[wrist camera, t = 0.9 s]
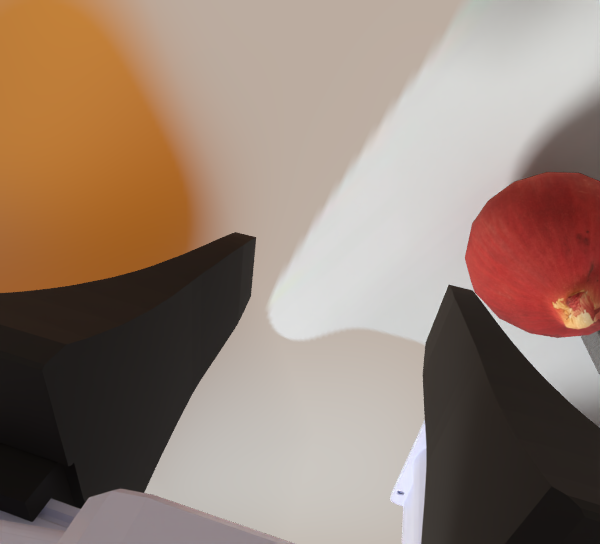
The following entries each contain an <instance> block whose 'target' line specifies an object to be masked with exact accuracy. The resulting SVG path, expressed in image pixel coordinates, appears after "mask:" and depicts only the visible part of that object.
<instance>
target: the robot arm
mask: <svg viewBox="0 0 600 544" xmlns="http://www.w3.org/2000/svg"><path fill="white" fill-rule="evenodd" d="M255 244H256V237H253V236H248V235H244V234H240V233H236V232H235V233H232V234H230V235H227V236H225V237H222V238H220V239H218V240H215V241H213V242H211V243H209V244H206V245H204V246H202V247H199V248H197V249H195V250H192V251H190V252H188V253H185V254H183V255H180V256H178V257H175V258H172V259H170V260H167V261H165V262H162V263H159V264H156V265H154V266H151V267H148V268H145V269H141V270H138V271H135V272H131V273H127V274H124V275H120V276H116V277H112V278H108V279H103V280H98V281H93V282H88V283H83V284H77V285H72V286H65V287H58V288H51V289H43V290H34V291H24V292H13V293H0V544H295V543H292V542H288V541H286V540H283V539H280V538H277V537H274V536H271V535H268V534H266V533H262V532H260V531H257V530H253V529H251V528H248V527H245V526H242V525H239V524H237V523H234V522H230V521H228V520H225V519H222V518H219V517H216V516H213V515H210V514H208V513H204V512H202V511H199V510H196V509H193V508H190V507H187V506H184V505H181V504H178V503H176V502H173V501H170V500H167V499H164V498H161V497H158V496H155V495H152V494H147V493H144V491H145V490H146V487H147V485H148V483H149V481H150V478H151V477H152V474H153V472H154V470H155V468H156V466H157V464H158V462H159V459H160V457H161V455H162V453H163V451H164V449H165V447H166V445H167V443H168V441H169V439H170V437H171V435H172V433H173V431H174V429H175V426H176V425H177V422H178V421H179V419H180V417H181V415H182V413H183V411H184V409H185V407H186V405H187V403H188V401H189V399H190V397H191V395H192V394H193V392H194V390H195V389H196V387H197V385H198V384H199V382H200V380H201V379H202V377H203V376H204V374H205V373H206V371H207V370H208V368H209V366H210V365H211V364H212V362H213V361H214V359H215V358H216V356H217V355H218V353H219V352H220V350H221V348H222V347H223V346H224V344H225V342H226V341H227V340H228V338H229V336H230V335H231V333H232V332H233V330H234V329H235V327H236V326H237V324H238V322H239V320H240V318H241V316H242V314H243V312H244V310H245V308H246V305H247V303H248V301H249V299H250V297H251V288H252V276H253V266H254V255H255ZM423 368H424V369H423V389H424V411H425V420H424V422H423V424H422V426H421V428H420V431H419V433H418V435H417V437H416V439H415V442H414V444H413V446H412V448H411V451H410V453H409V455H408V457H407V459H406V462H405V464H404V466H403V468H402V470H401V472H400V475H399V477H398V479H397V482H396V483H395V486H394V488H393V490H392V492H391V497H390V499H391V501H392V502H393V503H395V504H397V505H401V506H403V526H402V544H600V428H599V427H598V426H597V425H595V424H594V423H593V422H592V421H590V420H589V419H588V418H587V417H586V416H584V415H583V414H582V413H581V412H580V411H579V410H577V409H576V408H575V407H574V406H573V405H572V404H571V403H570V402H568V401H567V400H566V399H565V398H564V397H563V396H562V395H561V394H560V393H559V392H558V391H557V390H556V389H555V388H554V387H553V386H552V385H551V384H550V383H549V382H548V381H547V380H546V379H545V378H544V377H543V376H542V375H541V374H540V373H539V372H538V371H537V370H536V369H535V368H534V367H533V365H532V364H531V363H530V362H529V361H528V360H527V359H526V358H525V357H524V355H523V354H522V353H521V352H520V351H519V350H518V348H517V347H516V346H515V345H514V344H513V342H512V341H511V340H510V339H509V337H508V336H507V335H506V334H505V332H504V331H503V330H502V329H501V327H500V326H499V325H498V323H497V322H496V321H495V319H494V318H493V317H492V315H491V314H490V313H489V311H488V310H487V309H486V307H485V306H484V305H483V303H482V302H481V301H480V299H479V298H478V297H477V295H476V294H475V293H474V292H473V291H472V290H468V289H464V288H460V287H456V286H452V285H449V286H448V288H447V291H446V293H445V296H444V298H443V301H442V303H441V306H440V308H439V311H438V313H437V316H436V318H435V321H434V323H433V326H432V328H431V331H430V333H429V336H428V338H427V341H426V346H425V356H424V367H423Z"/></svg>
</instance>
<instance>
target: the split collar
mask: <svg viewBox="0 0 600 544" xmlns="http://www.w3.org/2000/svg"><path fill="white" fill-rule="evenodd" d="M581 338H582V340H583V342H584V344H585V346H586V348H587V350H588V352H589V354H590V356H591V359H592V361H593V363H594V365H595V367H596V369H597V371H598V373H599V374H600V330H599V331H597V332H594V333H592V334H590V335H584V336H581Z"/></svg>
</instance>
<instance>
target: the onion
mask: <svg viewBox="0 0 600 544" xmlns="http://www.w3.org/2000/svg"><path fill="white" fill-rule="evenodd" d="M465 260H466V264H467V268H468V271H469V275H470V279H471V282H472V285H473V288H474V291H475V293H476V294H477V295H478V296H479V297H480V298H481V299H482V300H483V301H484V302H485V303H486V304H487V305H488V307H489V308H490V309H491V310H492V311H493V312H494V313H495V314H496V315H497V316H498V317H499V318H500V319H502V320H504V321H506V322H508V323H510V324H512V325H514V326H516V327H518V328H520V329H522V330H524V331H527V332H529V333H532V334H538V335H544V336H550V337H556V338H559V337H571V336H584V335H590V334H592V333H594V332H597V331H599V330H600V181H598V180H595V179H593V178H590V177H588V176H585V175H583V174H581V173H562V172H545V173H542V174H539V175H535V176H532V177H529V178H525V179H522V180H519V181H515V182H513V183H512V184H510V185H509V186H508V187H506V188H505V189H504V190H502V191H501V192H499V193H498V194H497V195H495V196H494V197H493V198H491V199H490V200H489V201H488V202H487V203H486V205H485V206H484V207H483V209H482V210H481V212H480V213H479V215H478V216H477V218H476V219H475V221H474V222H473V223H472V227H471V232H470V236H469V241H468V246H467V251H466V255H465Z"/></svg>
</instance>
